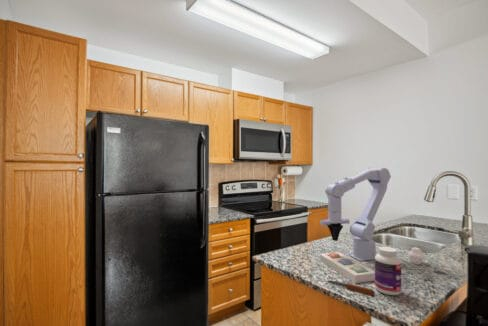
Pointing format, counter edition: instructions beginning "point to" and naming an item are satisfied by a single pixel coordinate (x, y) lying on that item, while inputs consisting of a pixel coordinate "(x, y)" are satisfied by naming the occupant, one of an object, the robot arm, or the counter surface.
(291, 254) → the counter surface
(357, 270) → the green button
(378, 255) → the pill bottle
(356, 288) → the kitchen knife
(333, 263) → the button panel
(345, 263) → the blue button
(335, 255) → the terracotta button
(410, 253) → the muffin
